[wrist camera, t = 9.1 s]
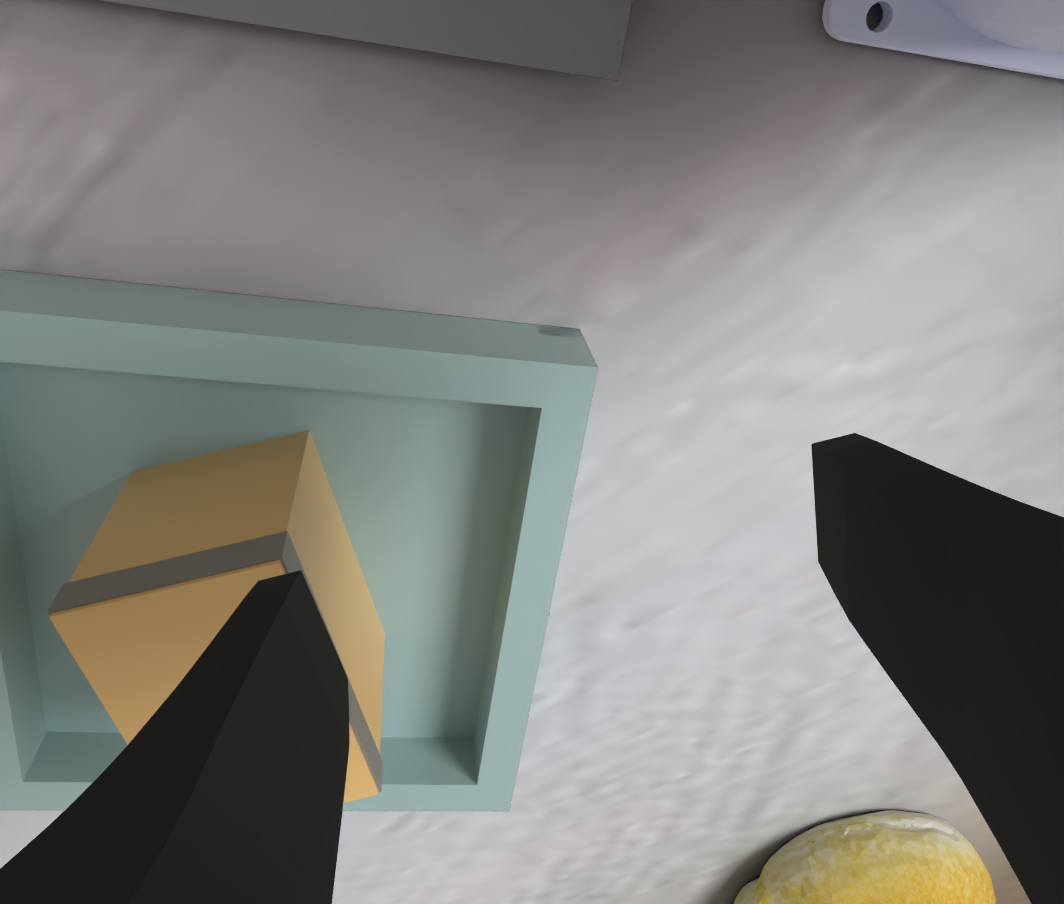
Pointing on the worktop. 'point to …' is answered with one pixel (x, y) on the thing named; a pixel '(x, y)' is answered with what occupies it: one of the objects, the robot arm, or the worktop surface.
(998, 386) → the worktop surface
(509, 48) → the grey rectangular frame
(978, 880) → the bread roll
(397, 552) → the parts tray
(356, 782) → the tan box
